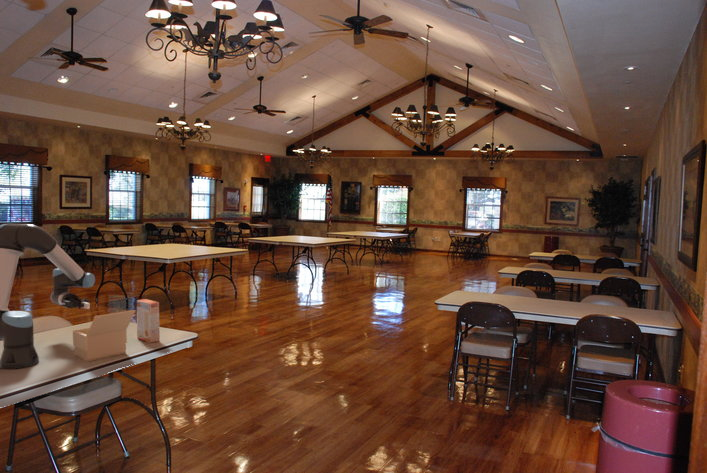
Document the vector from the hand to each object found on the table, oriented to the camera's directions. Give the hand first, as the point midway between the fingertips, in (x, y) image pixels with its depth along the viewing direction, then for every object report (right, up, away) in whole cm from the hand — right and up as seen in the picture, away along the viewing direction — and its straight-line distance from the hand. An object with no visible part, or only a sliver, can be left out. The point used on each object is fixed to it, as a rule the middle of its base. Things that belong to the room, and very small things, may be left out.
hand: (88, 306), depth 269 cm
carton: (+9, -22, -7) cm, 25 cm away
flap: (+18, -5, -15) cm, 24 cm away
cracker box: (+22, -21, +21) cm, 36 cm away
